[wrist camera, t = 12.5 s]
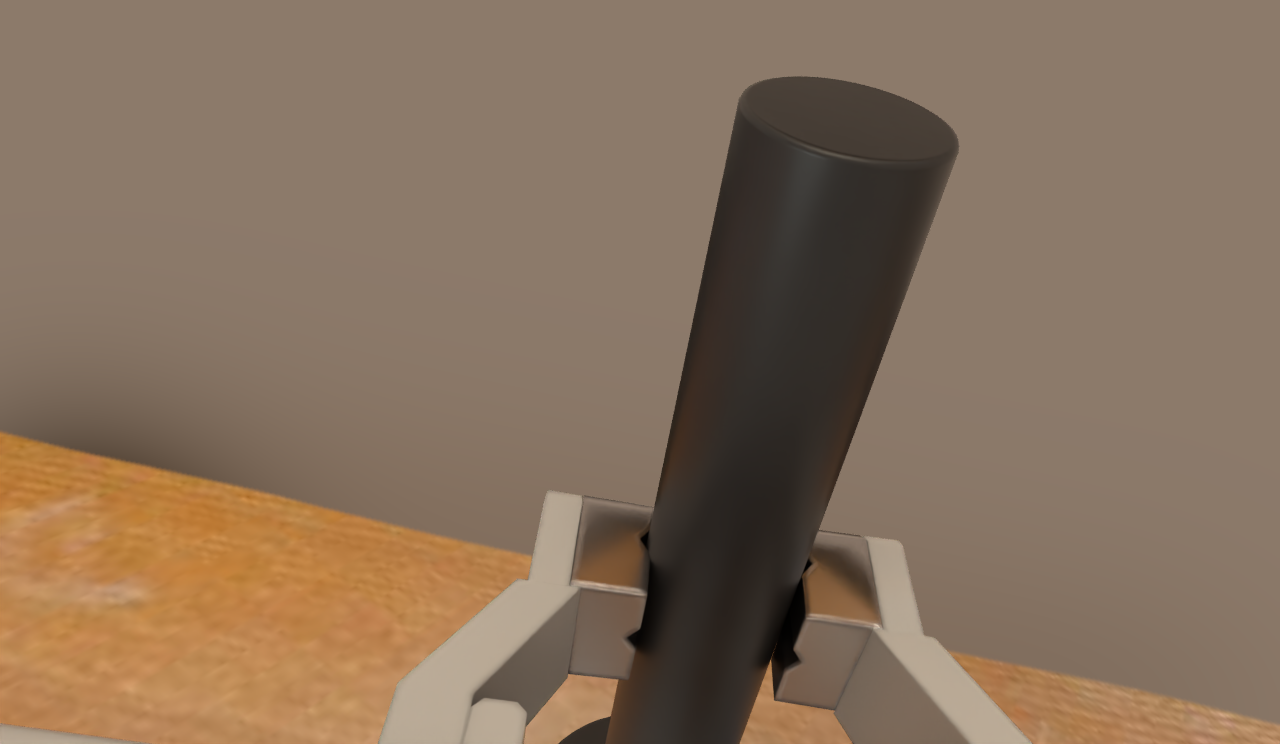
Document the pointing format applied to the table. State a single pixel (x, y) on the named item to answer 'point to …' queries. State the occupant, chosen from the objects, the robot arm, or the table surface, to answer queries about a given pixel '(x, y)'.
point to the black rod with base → (773, 387)
